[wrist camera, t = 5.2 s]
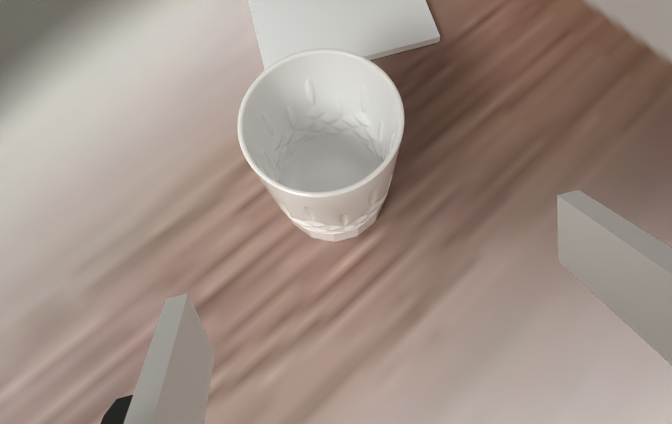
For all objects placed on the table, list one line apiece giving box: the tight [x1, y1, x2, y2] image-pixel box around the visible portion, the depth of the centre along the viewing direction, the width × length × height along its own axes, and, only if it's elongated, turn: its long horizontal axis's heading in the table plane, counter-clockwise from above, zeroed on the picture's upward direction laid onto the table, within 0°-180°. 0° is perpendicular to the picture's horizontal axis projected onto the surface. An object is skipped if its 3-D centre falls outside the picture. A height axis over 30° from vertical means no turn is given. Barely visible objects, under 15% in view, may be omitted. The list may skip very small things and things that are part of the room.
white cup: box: [237, 48, 404, 242], centre depth 27 cm, size 8×8×10 cm
